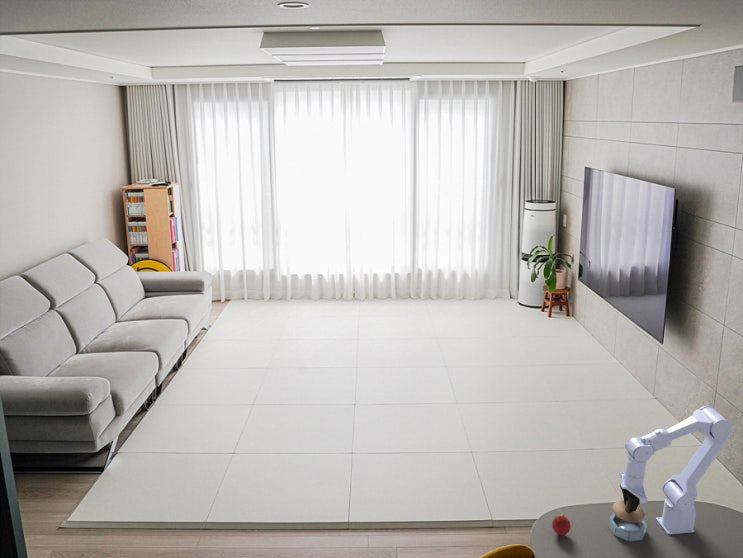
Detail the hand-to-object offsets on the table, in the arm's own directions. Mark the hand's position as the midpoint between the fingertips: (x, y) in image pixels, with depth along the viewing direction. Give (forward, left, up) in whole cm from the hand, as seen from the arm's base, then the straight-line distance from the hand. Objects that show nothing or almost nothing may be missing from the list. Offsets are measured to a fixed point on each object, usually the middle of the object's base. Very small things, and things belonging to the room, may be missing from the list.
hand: (629, 507), depth 215 cm
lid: (0, 0, -2) cm, 2 cm away
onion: (+23, 0, -9) cm, 25 cm away
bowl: (0, 0, -9) cm, 9 cm away
